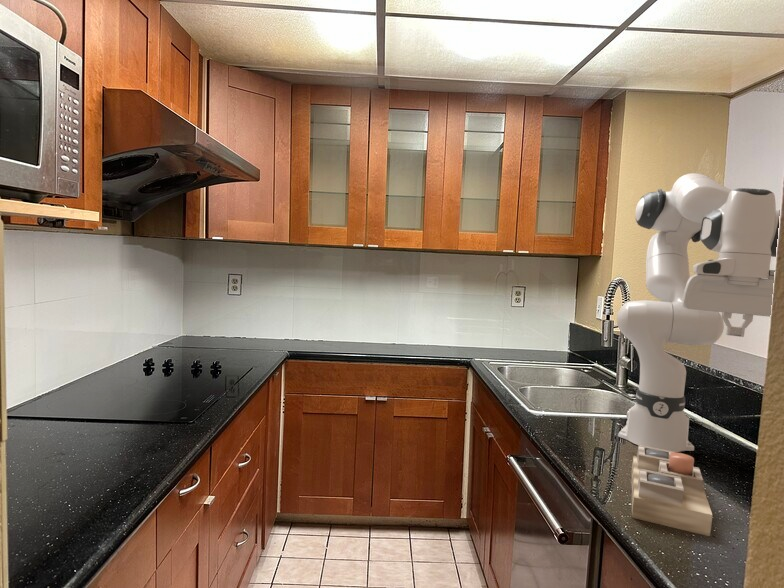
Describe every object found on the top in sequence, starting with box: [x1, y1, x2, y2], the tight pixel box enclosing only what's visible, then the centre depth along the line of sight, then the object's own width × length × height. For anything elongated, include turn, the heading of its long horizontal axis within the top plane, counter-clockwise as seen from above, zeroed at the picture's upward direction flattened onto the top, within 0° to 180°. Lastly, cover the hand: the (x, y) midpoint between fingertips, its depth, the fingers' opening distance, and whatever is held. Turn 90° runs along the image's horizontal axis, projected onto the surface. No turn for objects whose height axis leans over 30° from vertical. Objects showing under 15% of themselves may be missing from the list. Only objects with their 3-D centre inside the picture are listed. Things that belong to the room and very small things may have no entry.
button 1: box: [646, 449, 668, 459], centre depth 119 cm, size 4×4×3 cm
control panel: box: [631, 445, 713, 537], centre depth 111 cm, size 25×13×7 cm, turn 156°
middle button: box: [668, 452, 695, 475], centre depth 110 cm, size 4×4×3 cm
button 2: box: [648, 474, 674, 486], centre depth 105 cm, size 4×4×3 cm
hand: (734, 335), depth 110 cm, fingers closed
